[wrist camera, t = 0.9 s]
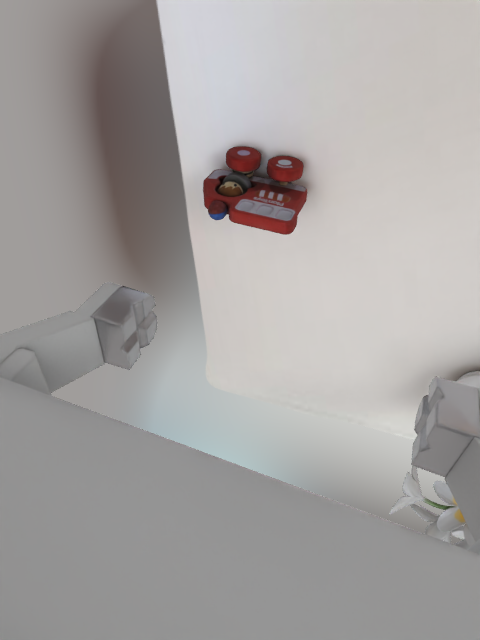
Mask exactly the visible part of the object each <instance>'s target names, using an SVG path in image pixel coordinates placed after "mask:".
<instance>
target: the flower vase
mask: <svg viewBox="0 0 480 640" xmlns="http://www.w3.org/2000/svg"><path fill="white" fill-rule="evenodd" d="M455 382H458V383H462V384H465V385H469V386H473V387H475V388H480V371H474V372H469V373H467V374H464V375H463V376H461V377H460V378H459V379H458V380H457V381H455ZM433 487H434V490H435V492H436V494H437V495H438V496H439V498H440V499H441V500H443V501H444V502H445V503H447V504H449V505H451V506H444V505H440V504H437V503H434V502H432V501H430V500H428V499H427V498H425V497H423V495H422V492H421V489H420V485H419V480H418V474H417V467H416V466H413V465H412V476H411V474H410V473H409V472H408V473H407V475H406V477H405V480H404V483H403V492H404V493H405V494H406V495H407V496H402V497H401V498H400V499H398V501H397V502H396V503H395V505H394V506H393V508H392V510H391V512H390V514H392V513H394V512H396V511H397V510H399V509H401V508H403V507H406V506H408V505H410V506H411V507H412V508H413V510H414V511H415V512H416V513H417V514H418V515H419V516H420V517H421V518H422V519H423V520H425V521H427V522H433V523H431V524H430V525H428V526H427V527H426V529H425V534H426V535H429V536H432V537H434V538H437V539H440V540H442V541H443V540H444V541H445V542H448V543H450V544H451V531H452V535H453V536H455V537H457V538H461V539H464V540H462V541H460V542H457V543H455V544H453V545H456V546H459V547H461V548H464V549H467V550H468V549H470V548H471V547H472V546H473V545H474V544H475V543H476V542H475V540H474V538H473V536H472V534H471V532H470V530H469V528H468V525H467V523H466V521H465V519H464V517H463V515H462V513H461V511H460V509H459V507H458V505H457V503H456V501H455V499H454V497H453V495H452V493H451V491H450V489H449V487H448V485H447V483H445V482H442V481H436V482H435V483H434V484H433ZM420 500H421V501H423V502H425V503H427V504H429V505H431V506H434V507H436V508H439V509H443V510H445V511H444V512H443V513H442V514H441V515H437V514H435V513H433V512H431V511H429V510H427V509H426V508H424V507H423V506H421V505H420V507H419V506H417V505H415V504H413V503H415V502H417V501H420ZM465 523H466V524H465ZM463 524H465V525H464V526H462V525H463Z"/></svg>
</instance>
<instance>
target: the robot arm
mask: <svg viewBox="0 0 480 640" xmlns="http://www.w3.org/2000/svg"><path fill="white" fill-rule="evenodd" d="M155 306H156V305H155V299H154V296H152V295H150V294H147V293H144V292H140V291H138V290H135V289H131V288H128V287H125V286H120V285H118V284H114V283H111V282H107V283H104V284H103V285H102V286H101V287H100V288H99V289H98V290H97V291H96V292H95V293H94V294H93V295H92V296H91V297H90V298H89V299H88V300H87V301H86V302H84V303H83V304H82V305H81V306H80V307H79V308H78V309H77V310H76V311H75V312H72V311H69V312H66V313H63V314H60V315H57V316H54V317H51V318H48V319H45V320H42V321H39V322H36V323H33V324H30V325H27V326H24V327H21V328H19V329H15V330H13V331H10V332H6V333H3V334H1V335H0V640H480V388H475V387H473V386H469V385H465V384H462V383H458V382H455V381H451V380H447V379H444V378H440V377H437V376H435V378H434V379H433V380H432V382H431V384H430V386H429V395H426V396H424V397H423V399H422V401H421V403H420V406H419V409H418V412H417V415H416V421H415V429H414V430H415V432H416V433H417V435H418V436H417V437H416V439H415V441H414V443H413V451H412V463H411V464H412V465H413V466H416V467H418V468H421V469H424V470H427V471H429V472H432V473H435V474H438V475H440V476H443V477H445V480H446V483H447V485H448V487H449V489H450V491H451V493H452V495H453V497H454V499H455V501H456V503H457V505H458V507H459V509H460V511H461V513H462V515H463V517H464V519H465V521H466V523H467V525H468V528H469V530H470V532H471V534H472V536H473V538H474V540H475V542H476V543H475V544H474V545H473V546H472V547H471V548H470V549H468V550H467V549H464V548H461V547H459V546H456V545H453V544H450V543H448V542H445V541H442V540H440V539H437V538H434V537H432V536H429V535H426V534H423V533H420V532H418V531H415V530H413V529H410V528H407V527H404V526H402V525H399V524H396V523H394V522H391V521H388V520H386V519H383V518H380V517H378V516H375V515H372V514H369V513H367V512H364V511H361V510H359V509H356V508H353V507H350V506H348V505H345V504H342V503H340V502H337V501H334V500H332V499H329V498H326V497H323V496H320V495H318V494H315V493H313V492H310V491H307V490H304V489H302V488H299V487H296V486H293V485H291V484H288V483H285V482H283V481H280V480H277V479H275V478H272V477H269V476H266V475H264V474H261V473H258V472H256V471H253V470H250V469H247V468H245V467H242V466H239V465H237V464H234V463H231V462H229V461H226V460H223V459H221V458H218V457H215V456H212V455H210V454H207V453H204V452H202V451H199V450H196V449H194V448H191V447H188V446H186V445H183V444H180V443H177V442H175V441H172V440H169V439H166V438H164V437H161V436H159V435H156V434H153V433H150V432H148V431H145V430H143V429H140V428H137V427H134V426H132V425H129V424H126V423H123V422H121V421H118V420H115V419H113V418H110V417H107V416H105V415H102V414H99V413H97V412H94V411H91V410H88V409H86V408H83V407H80V406H77V405H75V404H72V403H70V402H67V401H64V400H61V399H59V398H56V397H53V396H52V395H51V393H52V392H53V391H55V390H57V389H59V388H61V387H63V386H65V385H66V384H68V383H70V382H72V381H74V380H76V379H78V378H79V377H81V376H83V375H85V374H87V373H89V372H90V371H92V370H94V369H96V368H98V367H100V366H102V365H103V364H104V362H105V363H108V364H112V365H115V366H118V367H121V368H125V369H128V370H130V368H131V367H132V366H133V365H134V363H135V362H136V361H137V359H138V358H139V357H140V355H141V352H140V348H143V347H145V346H147V345H149V344H150V342H151V340H152V339H153V338H154V335H155V332H156V330H157V316H156V315H155V314H154V312H153V311H152V309H153V308H154V307H155Z"/></svg>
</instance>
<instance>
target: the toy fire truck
mask: <svg viewBox="0 0 480 640" xmlns="http://www.w3.org/2000/svg"><path fill="white" fill-rule="evenodd" d="M260 162H261V154H260V152H259V151H257V150H256V149H254V148H250V147H233V148H231V149H229V150H228V151H227V153H226V164H227V166H228V167H229V168H231V169H232V172H231V171H226V170H222V169H218V170H214V171H213V172H212V173H211V174H210V175H209V176H208V177H207V178H206V179H205V180H204V185H203V192H204V205H205V207H206V208H207V209H208V212H209V215H210V217H211V218H213V219H214V220H221V219H223V218H224V217H225V216H226V214H229V219H230V220H231V221H232V222H234V223H238V224H242V225H246V226H251V227H255V228H259V229H263V230H268V231H272V232H276V233H280V234H290V233H292V232H293V230H294V229H295V227H296V225H297V215H298V214H299V212H300V210H301V209H302V207H303V205H304V204H305V202H306V198H307V189H306V188H305V187H303V186H298V185H293V184H291V183H290V182H292V181H295V180H298V179H300V178H301V176H302V173H303V163H302V162H301V161H300V160H299V159H297V158H294V157H290V156H277V157H273V158H271V159H270V160H269V161H268V164H267V174H268V176H269V177H270V178H272V179H273V180H269V179H265V178H260V177H255V176H252V175H253V171H254V170H256V169H258V168H259V167H260ZM275 180H276V181H275Z"/></svg>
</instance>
